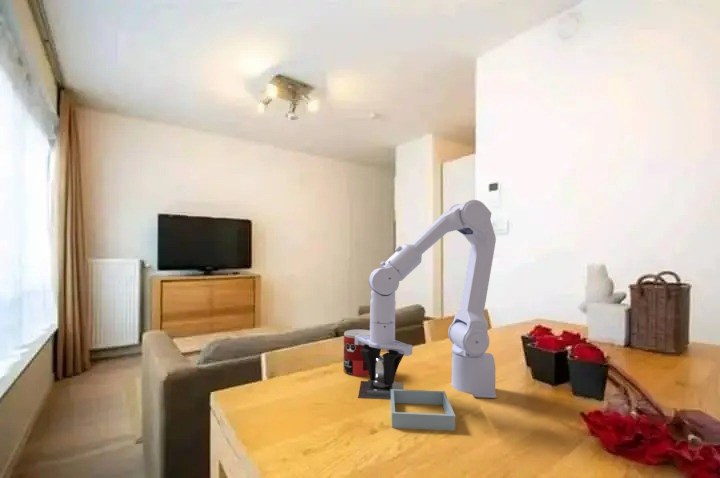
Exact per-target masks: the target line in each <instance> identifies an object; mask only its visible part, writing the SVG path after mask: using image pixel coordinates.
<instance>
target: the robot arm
mask: <svg viewBox="0 0 720 478" xmlns="http://www.w3.org/2000/svg"><path fill="white" fill-rule="evenodd" d="M491 218H492V212H491V211H490V209H489V208H488V207H487V206H486V205H485V204H484V203H483V202H482V201H481V200H477V199H471V200H468V201H466V202H463V203H457V204H454V205H452V206H451V207H450V208H449V209H448V210H446V211H444V212H442V214H441V215H440V216H438V217H437V218H436V219H435V221H434V222H432V224H431V225H430V226H429V227H428V228H427V229H426V230H425V231H423V232H422V234H421V235H419V236H418V238H417V239H416V240H415V241H414V242H413V243H411V244H407V243H406V244H403V245H402V246H401V245H398V246H396V247H395V249H394V251H395V252H394V253H393V254H392V255H391V256H390V257H389V258H388V259H386V260H385V261H383V260H382V261H381V262H380V263H379V264H380V267H378V268H376V269H373V270H372V272H371V273H370V275H369V278H368V279H367V283H368V286H369V288H370V289H371V290H370V300H369V304H370V305H369V309H370V310H369V331H370V336H363V335H358V336H355V345H364V347H363V349H361V354H362V356H363V358H364V360H365V362H366V365H367V368H368V372H369V375H368V377H369V380H372V381H373V379H374V378H375V357H376V356H380V355H381V351H382V350H383V351H388V352H386V353H383V354H382V355H383V358H384V362H385V369H386V385H391V384H393V383H394V381H395V378H396V374H397V370H398V368H399V365H400V364H401V361H402V359H403V358H404V357H409V356H411V355H413V344H409V343H408V344H407V343H405V342H402V341H400V340H396V291H397V290H398V289H399V285H400V282H402V281H403V280H404V279H406V277H408V275H409V274H411V273H412V272H413V271H414V270H415V269H416V268H417V267H418V266H419V265H420V264H421V263H422V259H423V258H422V257H423V254H424V253H425V252H427V251H428V250H429V249H430V248H431V247H432V246H434V245H435V244H436V243H437V242H439V240H440V239H441V238H443V237H444V236H445V235H446V234H447V233H449V232H450V233H451V232H454V231H456V232H459V233H460V234H462V235H463V236H464V237H465V239H466V240H467V241H468V242H469V244H470V249H469V255H468V261H467V265H466V272H465V279H464V284H463V289H462V296H461V302H460V306H459V307H460V308H459V309H458V310H457V311H456V312H455V314H454V318H453V321H452V323H451V324H450V325H449V327H448V329H447V330H448V331H447V333H448V338H449V341H450V342H451V343H452V348H451V387H452V388H453V389H454V390H456V391H459V392H463V393H469V394H471V395H472V396H473V398H489V399H494V398H495V399H496V398H497V395H496V362H495V358H494V355H493V354H492V353H489V352H487V350H488V349H489V346H490V337H489V334H488V333H489V332H488V330H489V324H488V320H487V318H486V317H485V308H486V302H487V296H488V295H487V294H488V290H489V283H490V277H491V272H492V268H493V267H492V266H493V261H494V260H493V259H494V253H495V249H496V242H497V241H496V240H497V237H496V233H495V230H494V227H493V223H492V220H491Z"/></svg>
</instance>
